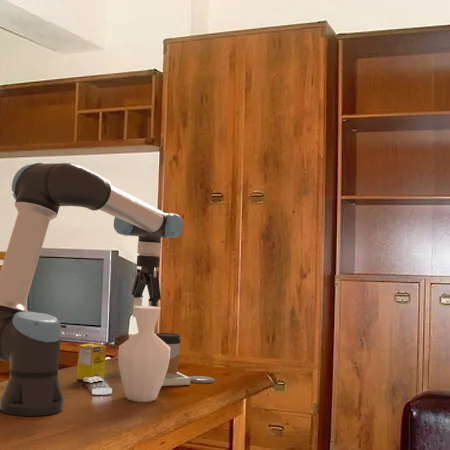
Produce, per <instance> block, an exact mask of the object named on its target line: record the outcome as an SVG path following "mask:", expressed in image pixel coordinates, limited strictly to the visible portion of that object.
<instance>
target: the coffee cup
mask: <svg viewBox="0 0 450 450" xmlns="http://www.w3.org/2000/svg"><path fill="white" fill-rule="evenodd" d="M155 334H156V335H157V336H158V337H159V338H160V339H161V340H162V341H163V342H165V343H166V344H167V345H168V346H169V347H170V360H169V365H168V369H167V372H166V375H165V378H176V374H177V372H178V366H179V359H180V358H179V356H180V347H181V343H182V342H181V340H182V339H181V338H180V334H179V333H172V332H171V333H170V332H157V333H155ZM169 386H171V385H169Z"/></svg>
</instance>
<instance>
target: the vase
mask: <svg viewBox="0 0 450 450" xmlns="http://www.w3.org/2000/svg"><path fill="white" fill-rule="evenodd" d="M132 308H134V312H135V317H134V318H135V321H136V326H137V327H136V328H137V331H138V332H136V333H134V334H135V335H134V336H132V337H131V338H130V337H129V338H128V339H127V340H126V341H124V342H122V344H120V345H118V355H117V359H118V360H117V361H118V370H119V374H120V379H121V383H122V387H123V390H124V394H125V397H126V398H127V400H129V401H132V402H136V401H137V402H140V403H141V402H143V403H144V402H146V403H147V402H152V401H156V399H158V396H159V393H160V390H161V389H162V387H163V386H162V384H163V381H164V378H165V375H166V372H167V369H168V365H169V360H170V347H169V346H168V345H167V344H166V343H165V342H163V341H162V340H161V339H160V338H159V337H158V336H157V335H155V334H156V333H154V330H155V327H156V325H157V321H158V319H159V315H160V312H161V309H162V307H160V306H157V307H154V306H148V305H142V306H134V305H133V307H132Z"/></svg>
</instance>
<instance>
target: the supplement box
mask: <svg viewBox="0 0 450 450" xmlns="http://www.w3.org/2000/svg"><path fill="white" fill-rule="evenodd" d="M77 354H78V357H77V373H76V375H77V376H76V381H77V382H80V383H81V382H82V383H84V382H83V378H84V377H94V376H101V377H102V378H103V379H104V380H105V374H106V373H105V372H106V359H107V358H106V357H107V356H106V354H107V345H103V344H98V343H83V344H79V345H78V353H77Z"/></svg>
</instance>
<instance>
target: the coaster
mask: <svg viewBox="0 0 450 450" xmlns="http://www.w3.org/2000/svg"><path fill="white" fill-rule="evenodd" d="M188 377H189V378H190V383H192V382H193V384H204V385H205V384H212V383H215V378H214V377H211V376H204V375H203V376H202V375H192V376H191V375H190V376H188Z"/></svg>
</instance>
